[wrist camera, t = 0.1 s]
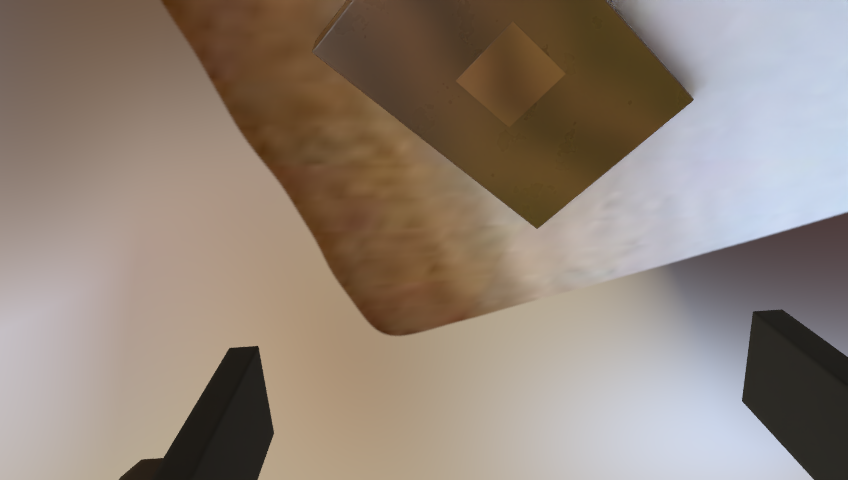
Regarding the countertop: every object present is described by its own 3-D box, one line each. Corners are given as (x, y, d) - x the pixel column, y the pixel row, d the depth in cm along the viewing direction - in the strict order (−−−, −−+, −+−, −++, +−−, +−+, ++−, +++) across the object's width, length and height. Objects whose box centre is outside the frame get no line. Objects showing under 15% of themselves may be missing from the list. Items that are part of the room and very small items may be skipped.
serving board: (467, -155, 32) (471, -152, 30) (682, 87, 41) (694, 100, 39) (314, 41, 38) (311, 52, 36) (532, 214, 47) (537, 229, 45)
